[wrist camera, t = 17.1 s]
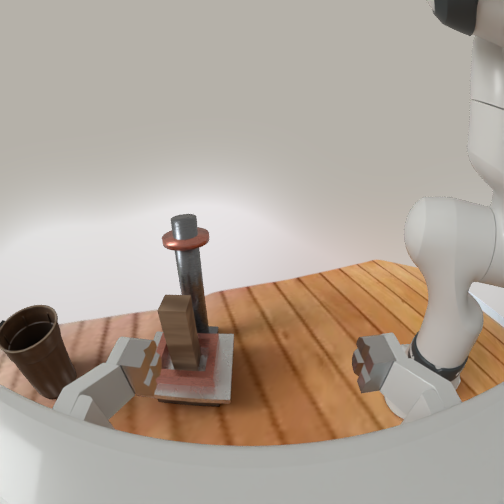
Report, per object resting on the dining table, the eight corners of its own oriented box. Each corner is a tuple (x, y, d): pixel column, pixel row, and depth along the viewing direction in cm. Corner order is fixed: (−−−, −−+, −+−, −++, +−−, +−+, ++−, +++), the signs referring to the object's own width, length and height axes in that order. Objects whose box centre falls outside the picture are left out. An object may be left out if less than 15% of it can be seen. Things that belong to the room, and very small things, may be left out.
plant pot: (73, 348, 55) (49, 295, 48) (94, 386, 45) (64, 330, 38) (26, 371, 44) (-4, 320, 37) (39, 416, 34) (-2, 363, 27)
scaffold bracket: (232, 417, 42) (216, 275, 30) (144, 409, 42) (86, 274, 30) (236, 328, 66) (230, 209, 53) (170, 327, 66) (149, 213, 53)
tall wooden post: (198, 371, 45) (185, 311, 39) (174, 370, 45) (157, 310, 39) (201, 354, 49) (190, 295, 43) (178, 353, 49) (165, 294, 43)
